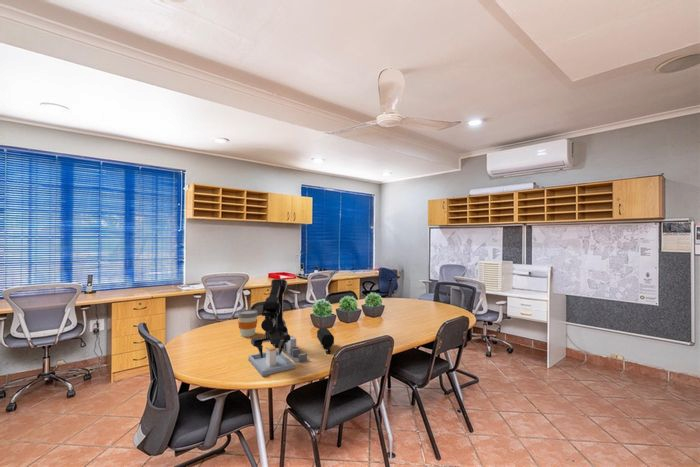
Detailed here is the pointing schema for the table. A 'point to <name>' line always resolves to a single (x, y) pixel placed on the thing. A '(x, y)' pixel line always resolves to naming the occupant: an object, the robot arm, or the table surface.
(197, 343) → the table surface
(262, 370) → the tray
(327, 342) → the security camera
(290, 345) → the block
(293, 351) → the clip block
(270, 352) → the block
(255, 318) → the reusable coffee cup
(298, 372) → the table surface
